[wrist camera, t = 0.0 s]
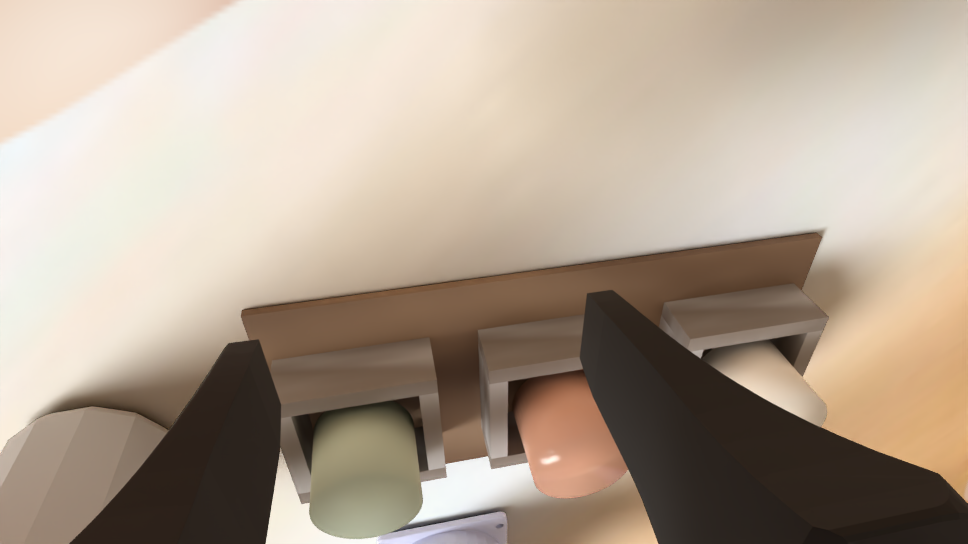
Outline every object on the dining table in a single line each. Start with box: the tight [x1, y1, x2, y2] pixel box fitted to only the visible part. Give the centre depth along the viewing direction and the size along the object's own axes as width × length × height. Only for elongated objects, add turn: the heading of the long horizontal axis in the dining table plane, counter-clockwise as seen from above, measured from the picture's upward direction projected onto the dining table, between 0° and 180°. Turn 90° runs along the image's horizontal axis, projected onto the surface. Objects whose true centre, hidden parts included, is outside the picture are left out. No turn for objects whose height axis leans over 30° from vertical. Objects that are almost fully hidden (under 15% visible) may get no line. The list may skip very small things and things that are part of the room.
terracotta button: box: [512, 369, 628, 498], centre depth 26 cm, size 4×4×4 cm
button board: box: [241, 233, 829, 504], centre depth 28 cm, size 12×26×3 cm, turn 91°
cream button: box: [702, 339, 827, 427], centre depth 27 cm, size 4×4×4 cm
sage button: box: [309, 400, 423, 539], centre depth 24 cm, size 4×4×4 cm
